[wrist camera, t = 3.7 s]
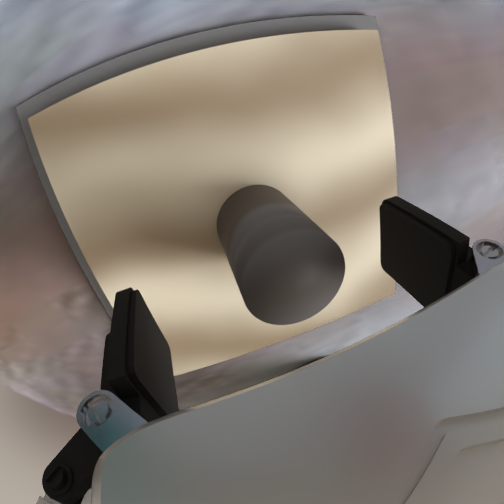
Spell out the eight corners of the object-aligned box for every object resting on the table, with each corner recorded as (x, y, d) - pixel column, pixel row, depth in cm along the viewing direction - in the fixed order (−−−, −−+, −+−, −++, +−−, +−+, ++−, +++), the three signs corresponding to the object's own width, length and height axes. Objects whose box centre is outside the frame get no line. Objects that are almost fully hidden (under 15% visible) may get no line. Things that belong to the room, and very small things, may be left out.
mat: (19, 106, 10) (15, 107, 10) (369, 17, 12) (375, 15, 12) (152, 373, 20) (152, 378, 19) (391, 286, 21) (395, 289, 21)
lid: (38, 116, 10) (-38, 137, 5) (364, 32, 12) (455, 21, 7) (159, 365, 19) (167, 449, 13) (385, 283, 20) (440, 340, 15)
